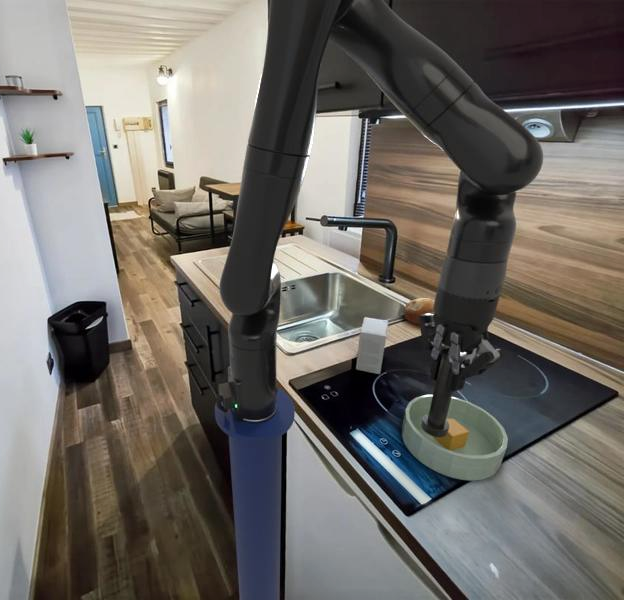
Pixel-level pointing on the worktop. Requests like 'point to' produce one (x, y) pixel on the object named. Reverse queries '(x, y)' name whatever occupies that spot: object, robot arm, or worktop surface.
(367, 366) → the small box
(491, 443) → the bowl
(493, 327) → the worktop surface
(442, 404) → the rod
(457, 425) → the block
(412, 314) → the bread roll
